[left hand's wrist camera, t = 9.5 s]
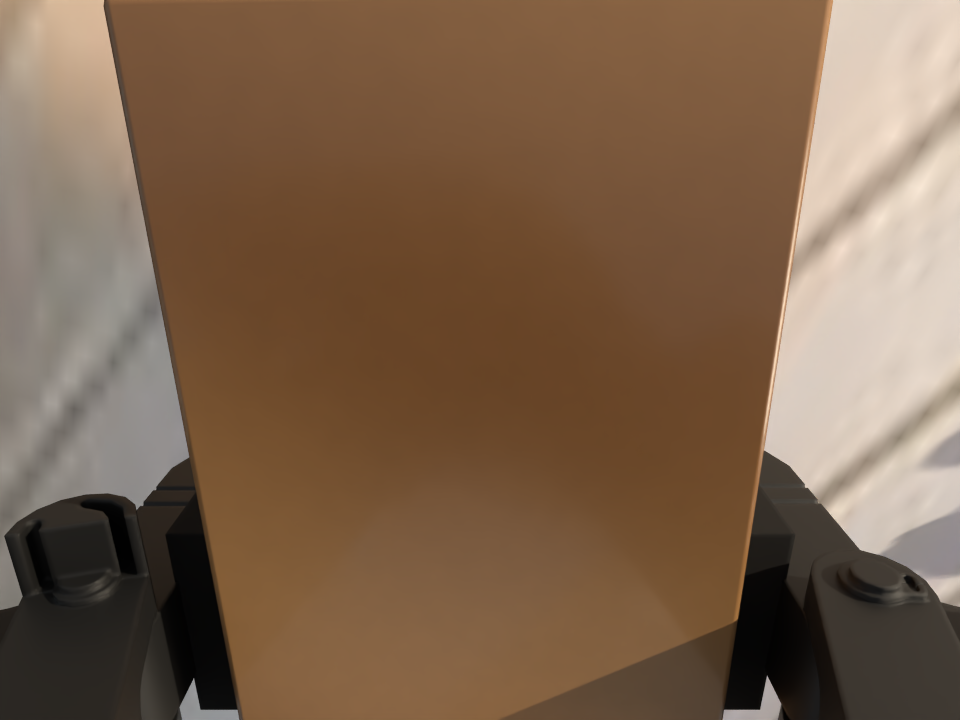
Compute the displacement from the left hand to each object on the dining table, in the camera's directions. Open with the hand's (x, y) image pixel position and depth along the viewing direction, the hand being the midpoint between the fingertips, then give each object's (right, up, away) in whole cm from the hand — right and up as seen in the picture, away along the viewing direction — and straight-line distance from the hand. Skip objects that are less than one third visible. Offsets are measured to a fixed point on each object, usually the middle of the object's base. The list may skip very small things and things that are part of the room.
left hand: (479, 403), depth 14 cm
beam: (0, -27, +11) cm, 30 cm away
